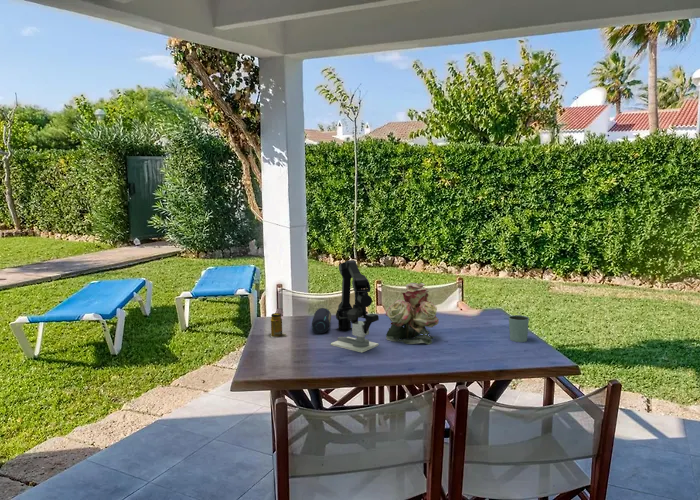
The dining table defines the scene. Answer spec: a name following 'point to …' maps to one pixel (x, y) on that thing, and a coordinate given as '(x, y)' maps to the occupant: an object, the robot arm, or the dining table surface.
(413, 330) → the rose bouquet
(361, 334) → the brushed grey cube
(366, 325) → the robot arm
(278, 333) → the condiment
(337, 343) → the board
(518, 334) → the green cup
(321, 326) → the portable speaker
